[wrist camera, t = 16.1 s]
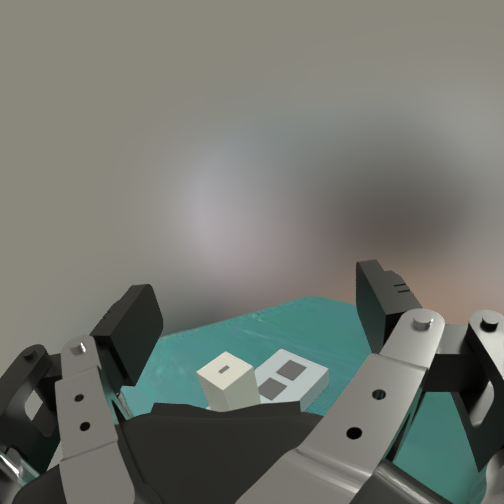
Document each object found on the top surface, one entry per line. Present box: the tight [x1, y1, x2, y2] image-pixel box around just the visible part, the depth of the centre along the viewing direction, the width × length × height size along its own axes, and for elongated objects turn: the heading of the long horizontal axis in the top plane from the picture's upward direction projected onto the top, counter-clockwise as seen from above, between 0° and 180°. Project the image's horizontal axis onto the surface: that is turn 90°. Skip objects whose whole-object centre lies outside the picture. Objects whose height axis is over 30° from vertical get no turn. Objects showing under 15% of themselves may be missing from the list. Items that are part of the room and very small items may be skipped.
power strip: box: [206, 349, 329, 412], centre depth 39 cm, size 20×9×4 cm, turn 136°
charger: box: [196, 351, 261, 412], centre depth 35 cm, size 4×4×12 cm
